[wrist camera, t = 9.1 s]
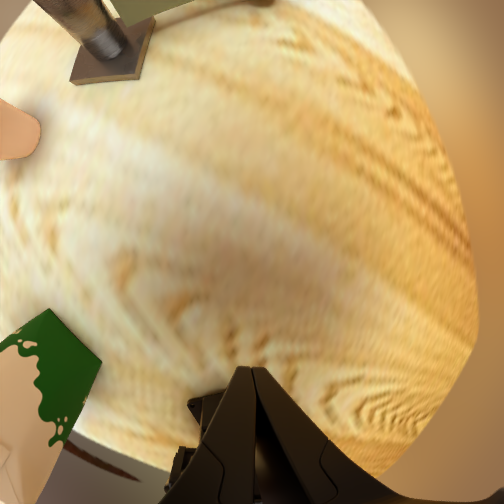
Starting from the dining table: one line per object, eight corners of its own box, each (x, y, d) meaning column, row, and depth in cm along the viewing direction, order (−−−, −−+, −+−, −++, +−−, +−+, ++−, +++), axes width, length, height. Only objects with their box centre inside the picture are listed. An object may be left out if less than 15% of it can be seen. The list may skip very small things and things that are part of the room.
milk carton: (46, 294, 20) (-103, 425, 1) (115, 364, 22) (33, 552, 3) (18, 342, 21) (-84, 454, 1) (77, 400, 23) (10, 540, 3)
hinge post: (75, 85, 16) (-28, 23, 3) (94, 28, 15) (22, -52, 2) (138, 79, 17) (56, -21, 4) (155, 21, 16) (110, -88, 3)
